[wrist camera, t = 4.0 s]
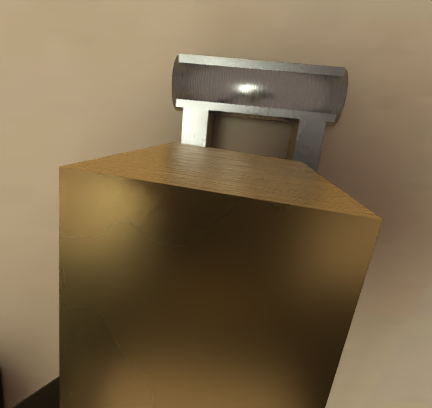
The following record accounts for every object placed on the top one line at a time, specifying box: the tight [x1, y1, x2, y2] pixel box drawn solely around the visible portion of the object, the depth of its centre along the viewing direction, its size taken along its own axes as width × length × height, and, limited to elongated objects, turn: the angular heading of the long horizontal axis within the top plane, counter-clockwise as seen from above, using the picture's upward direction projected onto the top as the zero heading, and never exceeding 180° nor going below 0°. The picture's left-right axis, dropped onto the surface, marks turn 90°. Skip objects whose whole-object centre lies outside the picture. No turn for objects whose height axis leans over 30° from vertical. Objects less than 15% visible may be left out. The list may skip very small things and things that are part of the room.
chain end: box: [172, 54, 348, 172], centre depth 16 cm, size 7×8×3 cm
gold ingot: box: [59, 142, 383, 408], centre depth 7 cm, size 11×3×5 cm, turn 172°
